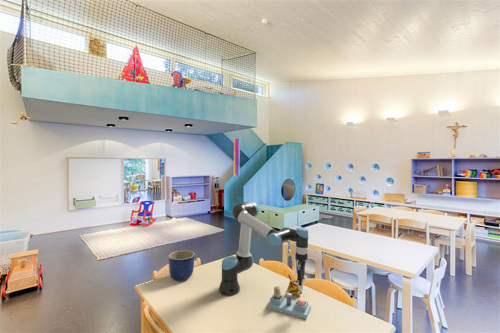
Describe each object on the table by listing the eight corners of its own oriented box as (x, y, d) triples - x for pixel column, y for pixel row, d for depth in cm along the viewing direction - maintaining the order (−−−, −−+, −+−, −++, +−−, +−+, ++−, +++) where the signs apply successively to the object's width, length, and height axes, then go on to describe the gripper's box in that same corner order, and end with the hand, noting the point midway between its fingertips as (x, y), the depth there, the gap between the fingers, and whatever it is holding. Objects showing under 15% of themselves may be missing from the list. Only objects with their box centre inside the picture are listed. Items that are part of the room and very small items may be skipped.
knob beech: (272, 299, 163) (273, 288, 163) (275, 296, 167) (275, 285, 167) (279, 301, 161) (279, 290, 161) (281, 297, 165) (281, 287, 165)
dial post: (285, 305, 160) (285, 294, 160) (287, 302, 163) (287, 292, 163) (290, 306, 158) (290, 296, 158) (292, 303, 161) (292, 293, 161)
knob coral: (296, 312, 156) (296, 301, 156) (298, 308, 160) (298, 297, 160) (303, 314, 154) (303, 302, 154) (305, 310, 158) (305, 299, 158)
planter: (162, 279, 199) (162, 256, 198) (182, 270, 216) (182, 248, 216) (180, 286, 188) (180, 261, 188) (199, 276, 205) (199, 253, 205)
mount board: (266, 307, 161) (266, 299, 161) (273, 298, 172) (273, 291, 172) (306, 319, 149) (306, 310, 149) (311, 309, 160) (311, 300, 160)
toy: (302, 297, 170) (291, 276, 173) (289, 301, 174) (279, 281, 177) (306, 288, 182) (296, 269, 186) (294, 292, 186) (285, 273, 189)
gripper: (305, 257, 149) (303, 296, 150) (309, 250, 161) (308, 286, 161) (292, 255, 152) (291, 292, 153) (298, 248, 164) (297, 283, 165)
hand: (300, 289), depth 157 cm, fingers closed
